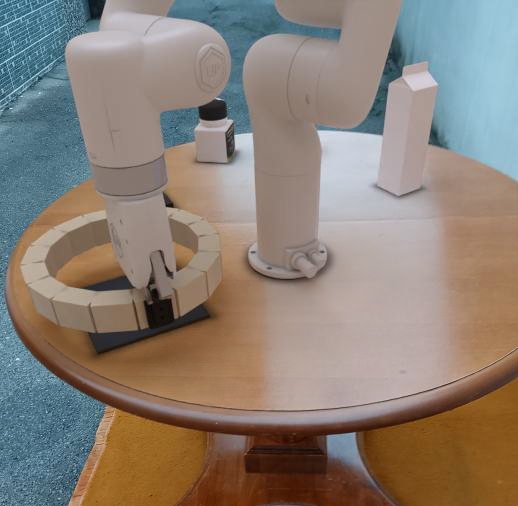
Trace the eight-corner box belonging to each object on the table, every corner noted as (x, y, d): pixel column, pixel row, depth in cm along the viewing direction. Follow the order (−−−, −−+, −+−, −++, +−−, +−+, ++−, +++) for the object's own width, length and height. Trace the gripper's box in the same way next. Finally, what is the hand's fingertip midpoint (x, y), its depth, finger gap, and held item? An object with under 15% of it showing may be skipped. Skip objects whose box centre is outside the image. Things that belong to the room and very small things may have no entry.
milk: (420, 188, 104) (443, 64, 90) (397, 196, 102) (417, 70, 88) (398, 178, 108) (416, 57, 94) (375, 185, 106) (391, 63, 91)
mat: (210, 316, 75) (210, 314, 75) (98, 354, 70) (97, 351, 69) (170, 264, 86) (170, 262, 86) (71, 293, 81) (70, 291, 80)
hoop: (254, 293, 70) (253, 267, 67) (51, 358, 61) (41, 330, 58) (182, 215, 87) (179, 192, 85) (17, 256, 79) (8, 231, 76)
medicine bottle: (228, 163, 117) (223, 106, 109) (196, 162, 118) (190, 105, 111) (235, 151, 122) (232, 95, 115) (205, 150, 124) (200, 95, 116)
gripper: (75, 154, 59) (109, 293, 71) (116, 211, 48) (148, 365, 59) (140, 141, 61) (163, 277, 73) (194, 193, 50) (211, 344, 62)
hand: (156, 315), depth 66 cm, fingers closed on hoop, 3 cm apart
